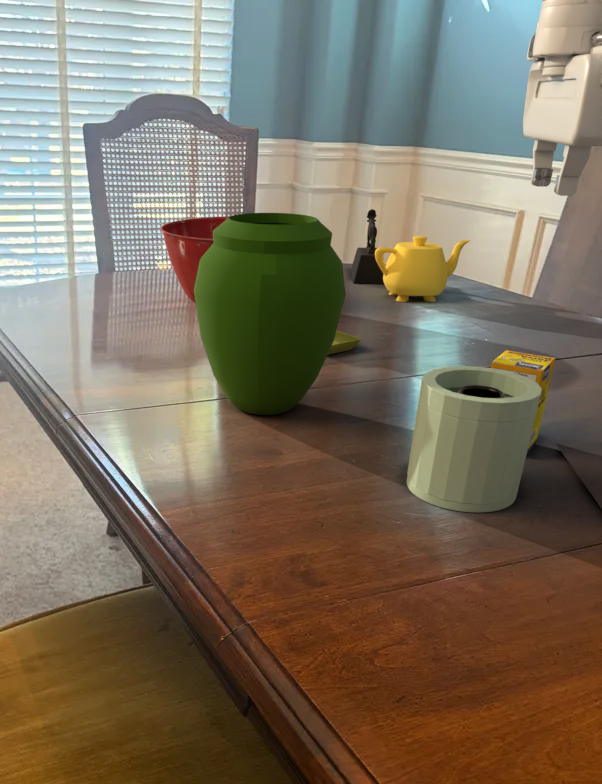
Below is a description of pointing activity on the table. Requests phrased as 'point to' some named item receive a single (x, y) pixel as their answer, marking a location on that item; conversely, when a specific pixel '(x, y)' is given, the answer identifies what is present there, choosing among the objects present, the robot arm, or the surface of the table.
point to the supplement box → (534, 370)
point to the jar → (471, 439)
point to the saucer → (343, 342)
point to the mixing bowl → (189, 247)
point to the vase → (268, 307)
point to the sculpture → (367, 258)
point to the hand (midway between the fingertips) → (551, 190)
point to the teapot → (417, 268)
